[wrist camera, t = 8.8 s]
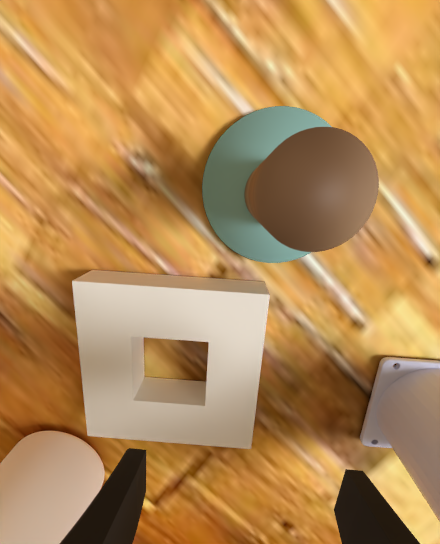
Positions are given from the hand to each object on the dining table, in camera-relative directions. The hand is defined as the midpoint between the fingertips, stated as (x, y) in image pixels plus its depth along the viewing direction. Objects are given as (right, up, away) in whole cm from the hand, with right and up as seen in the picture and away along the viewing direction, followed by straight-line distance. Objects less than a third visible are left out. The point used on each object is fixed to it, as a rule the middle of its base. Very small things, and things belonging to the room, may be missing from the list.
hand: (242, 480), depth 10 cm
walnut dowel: (+3, +12, +7) cm, 14 cm away
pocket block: (-4, +2, +11) cm, 11 cm away
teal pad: (+3, +13, +7) cm, 15 cm away
